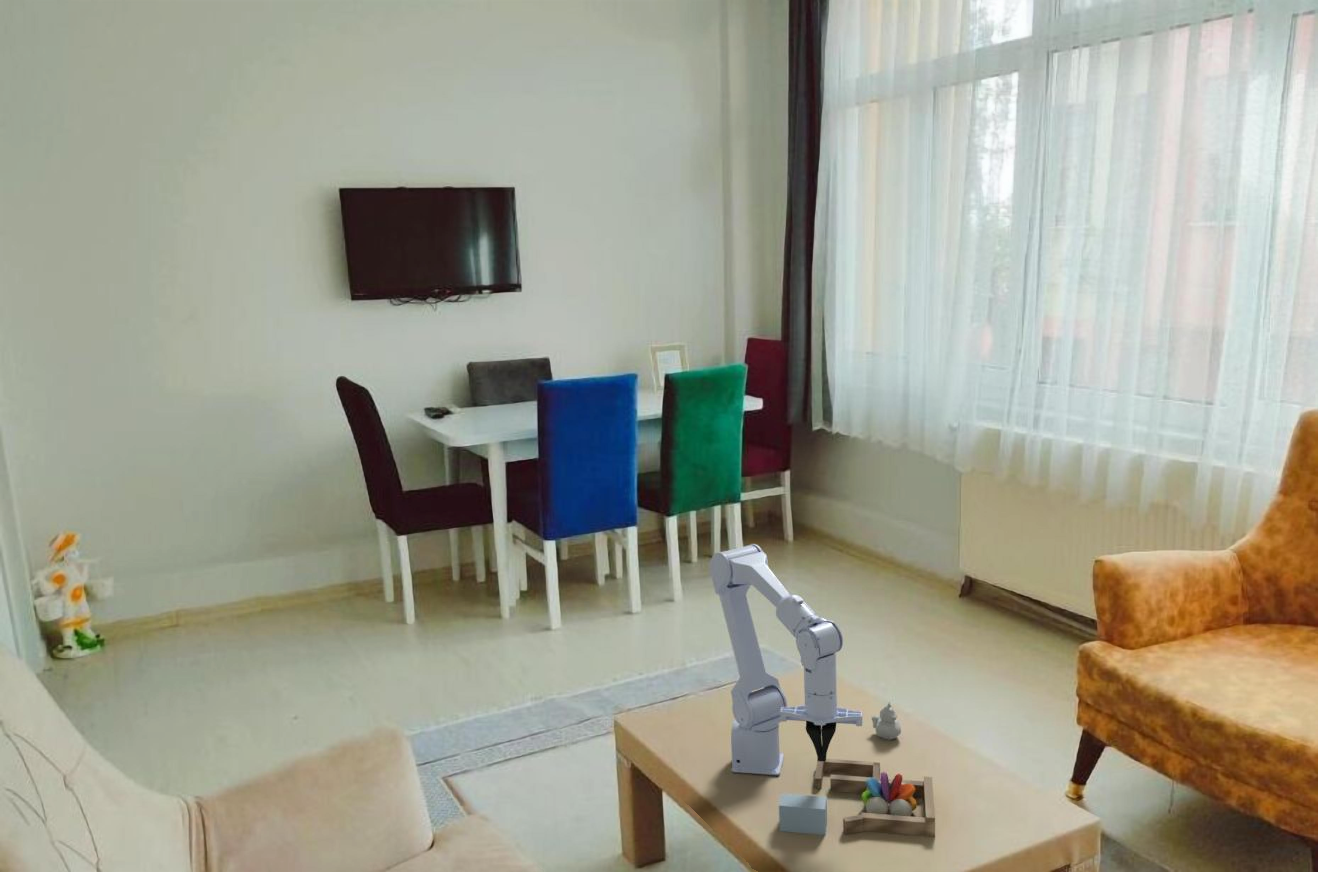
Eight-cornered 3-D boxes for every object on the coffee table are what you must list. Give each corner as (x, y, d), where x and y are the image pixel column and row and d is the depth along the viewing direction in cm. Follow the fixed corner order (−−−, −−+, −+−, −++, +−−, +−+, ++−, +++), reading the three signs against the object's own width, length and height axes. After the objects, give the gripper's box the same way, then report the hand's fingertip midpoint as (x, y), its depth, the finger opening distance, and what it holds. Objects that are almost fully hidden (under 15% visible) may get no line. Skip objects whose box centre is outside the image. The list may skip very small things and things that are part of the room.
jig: (808, 831, 169) (807, 813, 169) (817, 767, 190) (817, 751, 190) (935, 842, 164) (935, 823, 164) (930, 775, 185) (930, 758, 185)
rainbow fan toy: (917, 826, 169) (916, 788, 168) (860, 821, 172) (860, 784, 170) (916, 800, 177) (916, 764, 176) (862, 796, 180) (862, 760, 179)
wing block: (779, 831, 170) (778, 805, 169) (782, 818, 174) (781, 793, 173) (825, 835, 168) (825, 809, 167) (827, 822, 172) (826, 797, 171)
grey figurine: (892, 746, 197) (892, 710, 196) (865, 736, 202) (864, 700, 200) (906, 736, 201) (906, 700, 199) (879, 726, 205) (879, 691, 204)
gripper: (777, 696, 171) (779, 767, 173) (861, 701, 167) (862, 773, 170) (781, 679, 178) (784, 747, 180) (862, 683, 174) (863, 753, 177)
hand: (822, 758), depth 175 cm, fingers closed
